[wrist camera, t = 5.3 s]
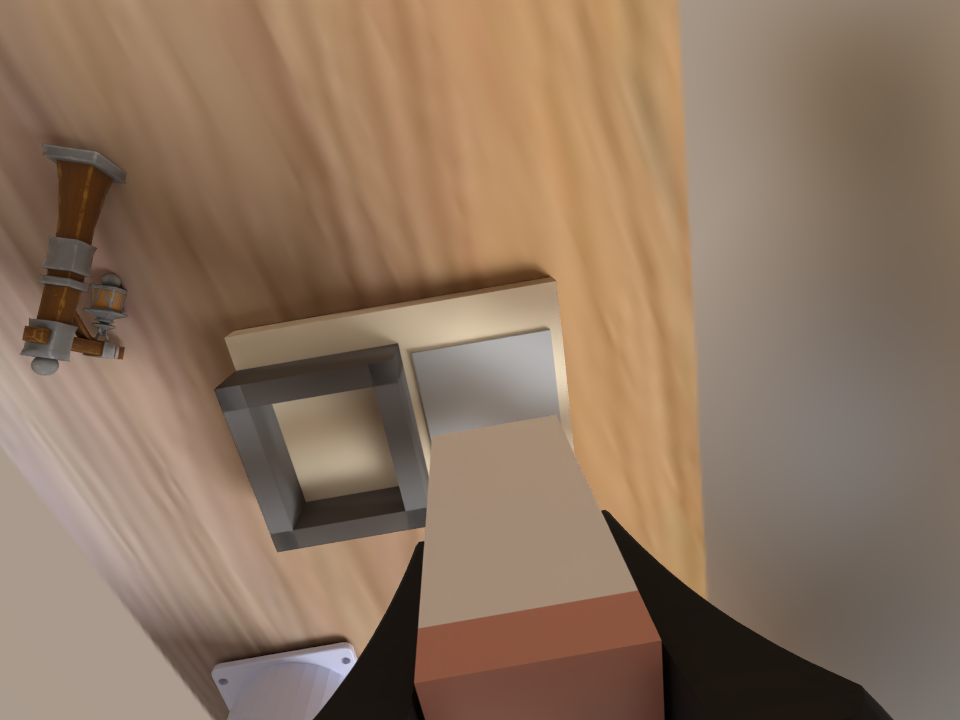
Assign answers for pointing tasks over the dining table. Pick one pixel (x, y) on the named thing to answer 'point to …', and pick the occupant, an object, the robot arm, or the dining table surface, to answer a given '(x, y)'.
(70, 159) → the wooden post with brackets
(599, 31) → the dining table surface
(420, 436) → the board
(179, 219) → the dining table surface
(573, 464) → the plug
